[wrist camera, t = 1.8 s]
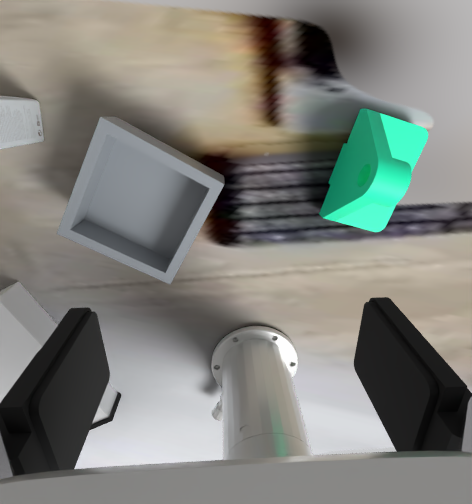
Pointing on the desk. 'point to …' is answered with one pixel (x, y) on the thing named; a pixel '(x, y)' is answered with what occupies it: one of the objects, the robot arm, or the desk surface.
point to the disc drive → (33, 344)
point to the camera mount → (373, 170)
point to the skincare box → (19, 122)
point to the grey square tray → (139, 200)
